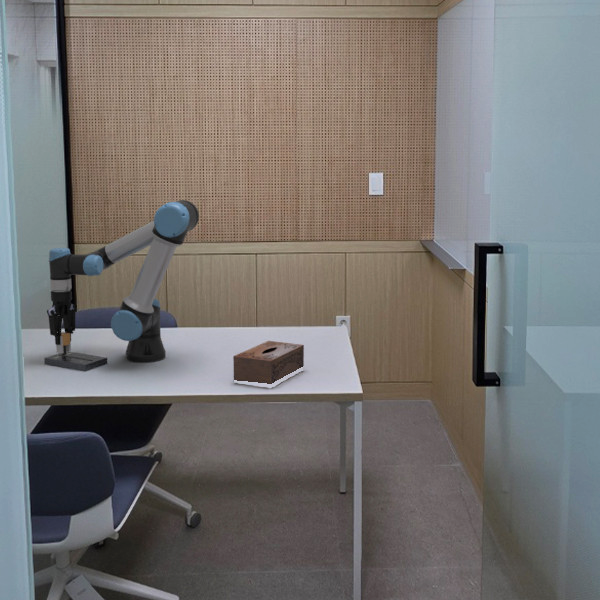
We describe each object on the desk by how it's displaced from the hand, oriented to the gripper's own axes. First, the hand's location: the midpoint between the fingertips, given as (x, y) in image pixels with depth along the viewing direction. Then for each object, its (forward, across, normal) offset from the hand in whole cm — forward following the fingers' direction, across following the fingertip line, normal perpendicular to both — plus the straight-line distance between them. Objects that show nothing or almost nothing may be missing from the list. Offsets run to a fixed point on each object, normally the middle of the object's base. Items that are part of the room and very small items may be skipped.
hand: (63, 351), depth 336 cm
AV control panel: (+4, 0, +6) cm, 7 cm away
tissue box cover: (+5, -21, +77) cm, 80 cm away
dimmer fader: (+1, 0, 0) cm, 1 cm away
